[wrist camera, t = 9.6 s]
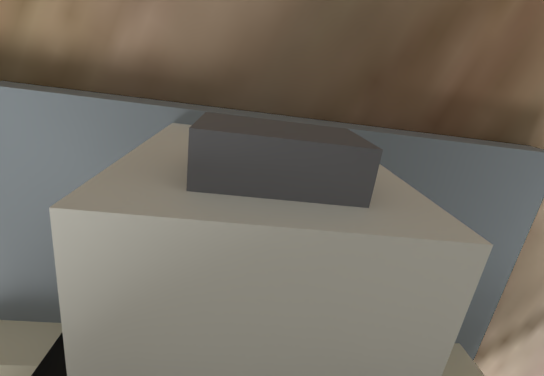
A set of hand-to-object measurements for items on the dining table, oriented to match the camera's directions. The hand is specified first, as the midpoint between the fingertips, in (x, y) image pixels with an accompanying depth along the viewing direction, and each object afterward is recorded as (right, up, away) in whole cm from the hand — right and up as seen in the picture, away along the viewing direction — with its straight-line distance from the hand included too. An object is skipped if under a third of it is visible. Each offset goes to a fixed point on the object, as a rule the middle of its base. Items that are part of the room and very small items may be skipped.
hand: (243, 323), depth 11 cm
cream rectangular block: (0, +1, +2) cm, 2 cm away
